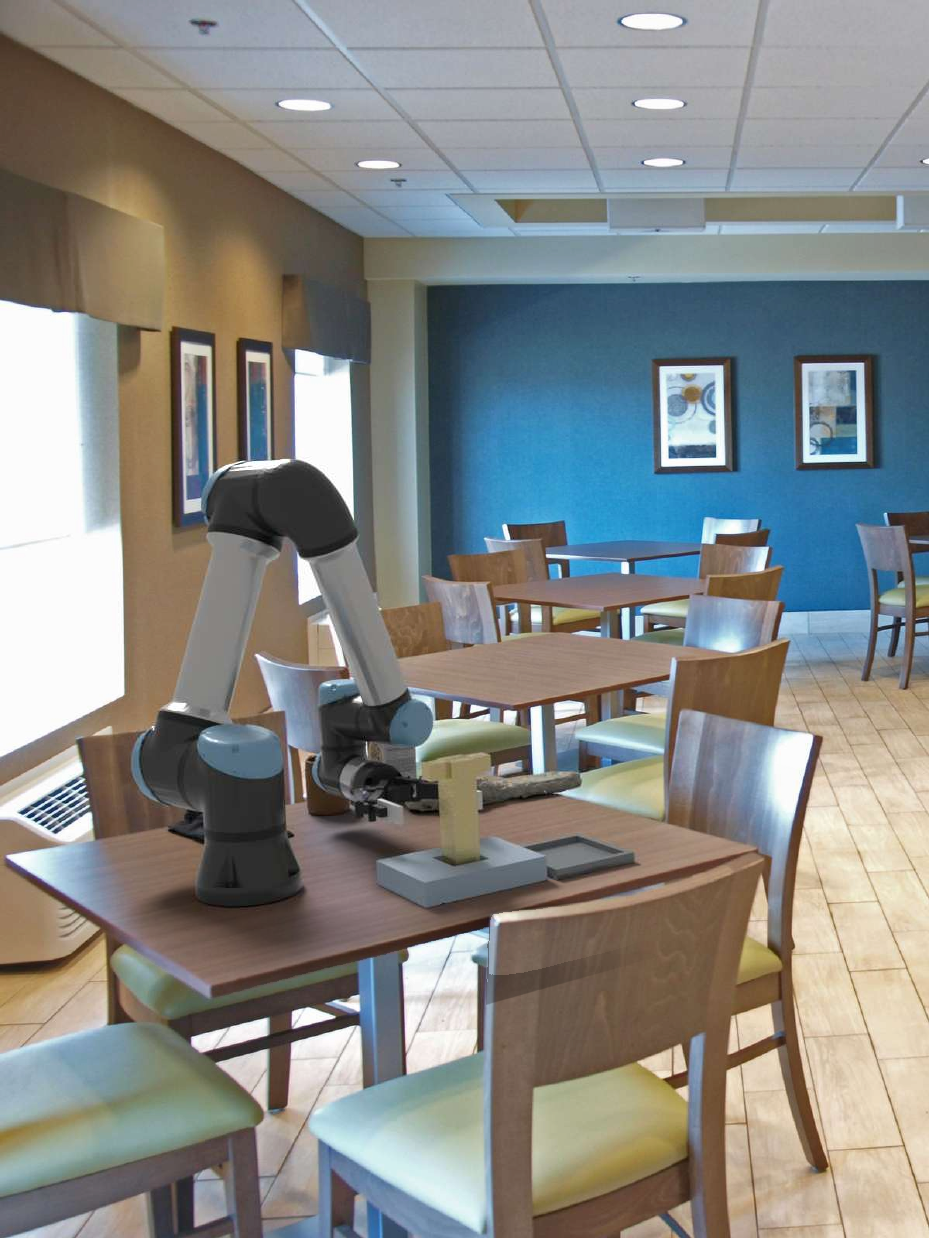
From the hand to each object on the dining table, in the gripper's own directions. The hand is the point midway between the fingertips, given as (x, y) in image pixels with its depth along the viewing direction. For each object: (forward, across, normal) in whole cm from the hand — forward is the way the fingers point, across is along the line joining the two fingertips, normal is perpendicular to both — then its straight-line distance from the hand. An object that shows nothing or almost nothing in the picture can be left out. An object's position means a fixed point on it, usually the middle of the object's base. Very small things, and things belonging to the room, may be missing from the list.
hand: (441, 808), depth 202 cm
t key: (+6, +1, -9) cm, 11 cm away
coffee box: (-47, -18, -10) cm, 51 cm away
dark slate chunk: (-43, +16, -10) cm, 47 cm away
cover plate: (+6, +1, -9) cm, 11 cm away
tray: (+8, -17, -9) cm, 21 cm away
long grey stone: (-33, -31, -10) cm, 46 cm away
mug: (-48, -4, -10) cm, 49 cm away
